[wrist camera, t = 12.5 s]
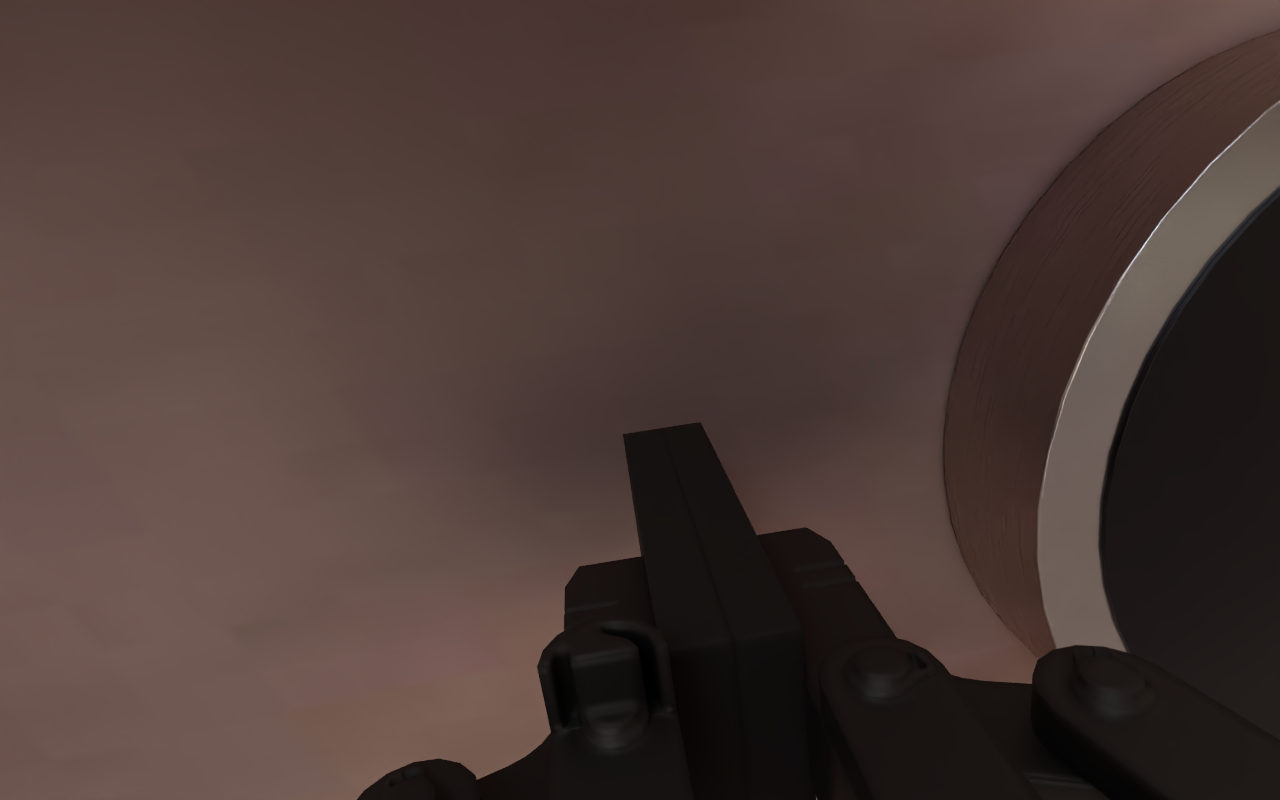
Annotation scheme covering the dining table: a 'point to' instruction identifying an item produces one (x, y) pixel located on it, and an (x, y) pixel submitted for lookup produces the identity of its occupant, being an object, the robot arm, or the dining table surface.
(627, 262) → the dining table surface
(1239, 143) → the pan
